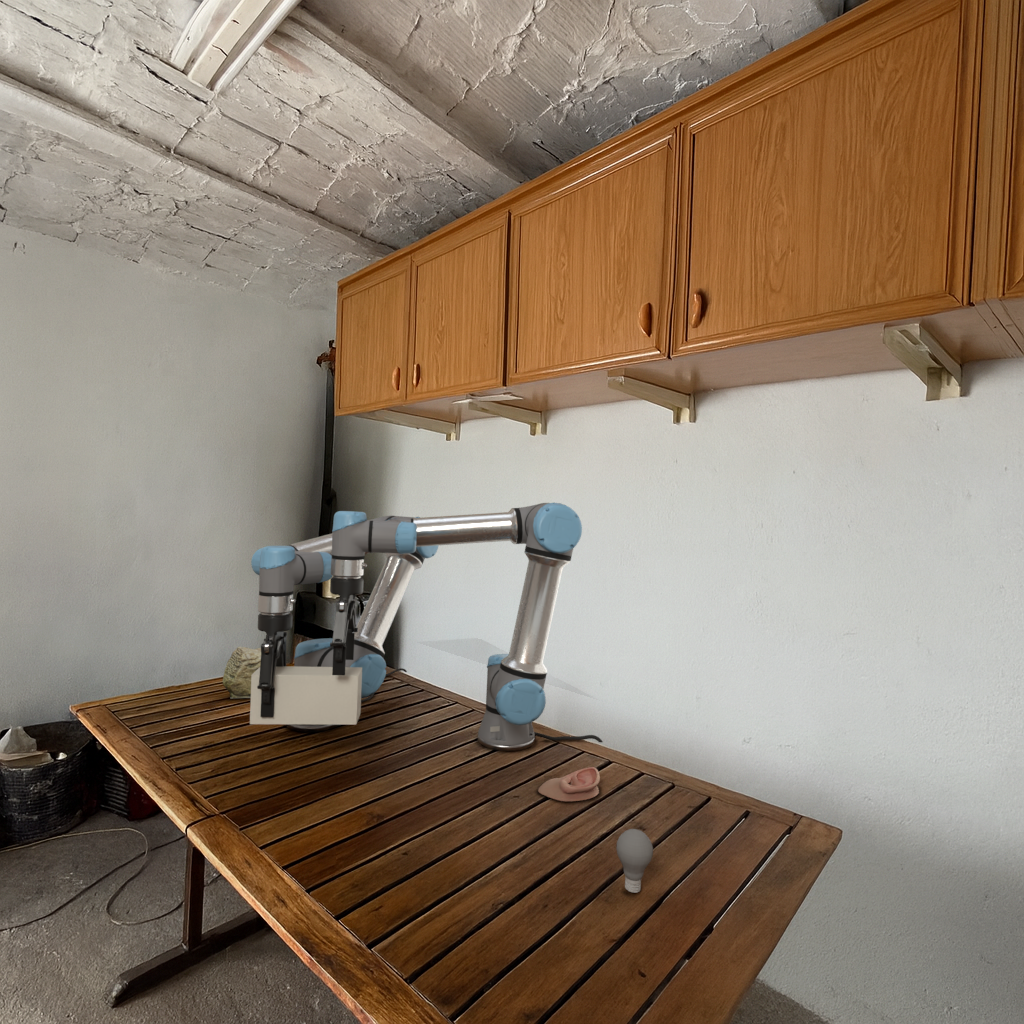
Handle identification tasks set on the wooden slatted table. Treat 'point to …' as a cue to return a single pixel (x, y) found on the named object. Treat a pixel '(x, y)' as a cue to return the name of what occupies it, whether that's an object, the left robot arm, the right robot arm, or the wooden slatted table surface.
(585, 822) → the wooden slatted table surface
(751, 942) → the wooden slatted table surface
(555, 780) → the anatomical model
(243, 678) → the fossil
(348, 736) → the wooden slatted table surface
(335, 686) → the box
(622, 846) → the light bulb
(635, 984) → the wooden slatted table surface
